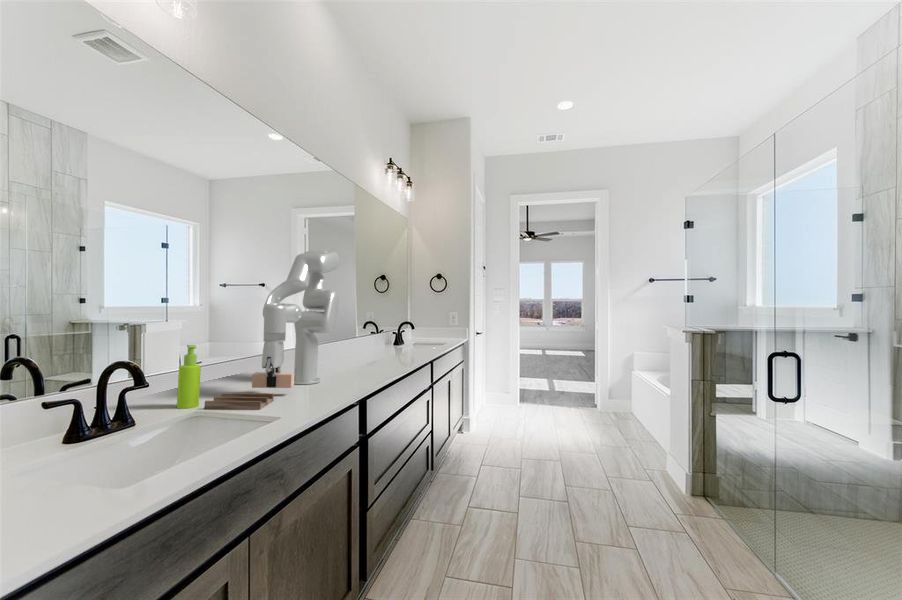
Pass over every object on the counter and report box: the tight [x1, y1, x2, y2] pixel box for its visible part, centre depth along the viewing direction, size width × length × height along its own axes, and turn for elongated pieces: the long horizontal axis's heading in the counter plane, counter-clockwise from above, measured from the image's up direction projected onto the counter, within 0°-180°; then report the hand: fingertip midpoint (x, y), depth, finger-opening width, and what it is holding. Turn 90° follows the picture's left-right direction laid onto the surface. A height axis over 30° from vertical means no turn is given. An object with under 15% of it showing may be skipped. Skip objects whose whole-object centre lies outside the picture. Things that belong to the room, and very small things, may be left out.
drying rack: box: [203, 392, 275, 411], centre depth 128 cm, size 12×17×2 cm
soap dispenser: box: [176, 344, 202, 410], centre depth 124 cm, size 6×7×20 cm
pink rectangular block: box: [251, 371, 295, 389], centre depth 144 cm, size 4×14×5 cm, turn 96°
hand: (273, 385), depth 144 cm, fingers closed on pink rectangular block, 3 cm apart
